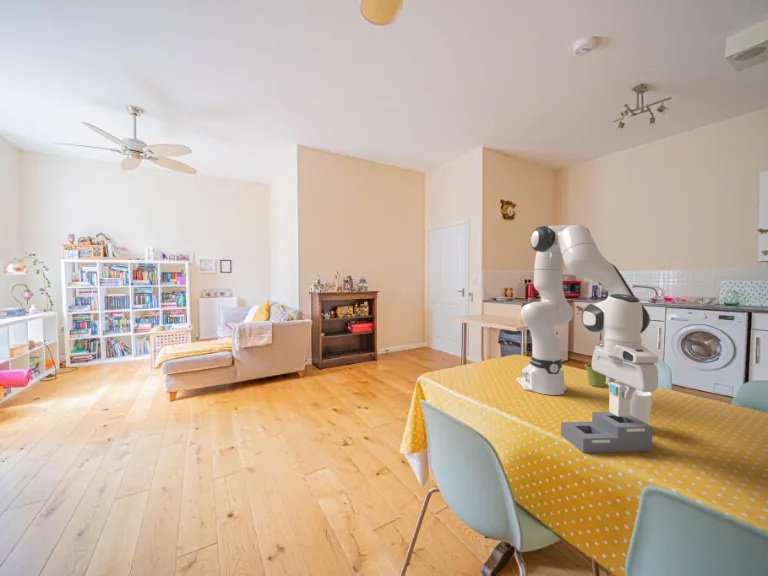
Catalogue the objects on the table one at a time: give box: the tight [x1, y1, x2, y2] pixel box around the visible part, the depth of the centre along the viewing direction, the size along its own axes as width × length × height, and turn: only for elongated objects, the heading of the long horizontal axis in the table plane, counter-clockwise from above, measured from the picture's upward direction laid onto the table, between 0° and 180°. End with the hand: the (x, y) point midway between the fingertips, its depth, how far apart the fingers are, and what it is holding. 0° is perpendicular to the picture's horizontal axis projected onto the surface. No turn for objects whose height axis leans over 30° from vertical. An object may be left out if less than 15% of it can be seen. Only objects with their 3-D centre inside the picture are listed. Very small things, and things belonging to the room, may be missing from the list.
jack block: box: [560, 411, 653, 454], centre depth 91 cm, size 10×20×7 cm, turn 93°
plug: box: [608, 381, 630, 417], centre depth 92 cm, size 4×4×9 cm
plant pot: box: [584, 363, 607, 388], centre depth 142 cm, size 9×9×9 cm
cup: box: [630, 389, 653, 425], centre depth 101 cm, size 9×9×12 cm
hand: (619, 395), depth 92 cm, fingers closed on plug, 3 cm apart
